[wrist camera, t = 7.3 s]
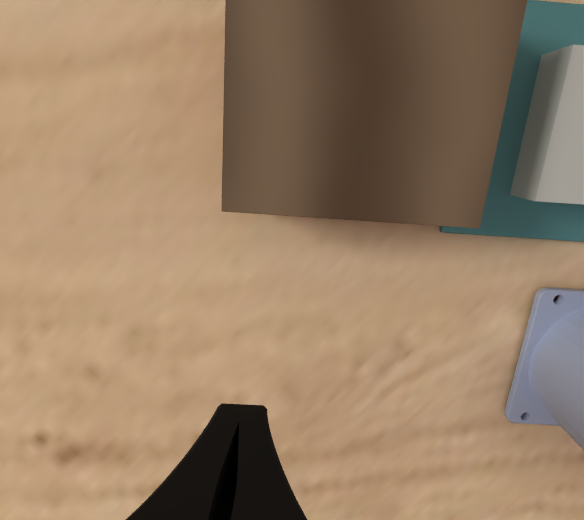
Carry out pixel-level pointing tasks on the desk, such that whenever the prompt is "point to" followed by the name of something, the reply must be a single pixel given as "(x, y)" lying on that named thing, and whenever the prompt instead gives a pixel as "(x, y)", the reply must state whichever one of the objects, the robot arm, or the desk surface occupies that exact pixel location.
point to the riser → (365, 107)
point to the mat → (499, 203)
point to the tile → (554, 132)
